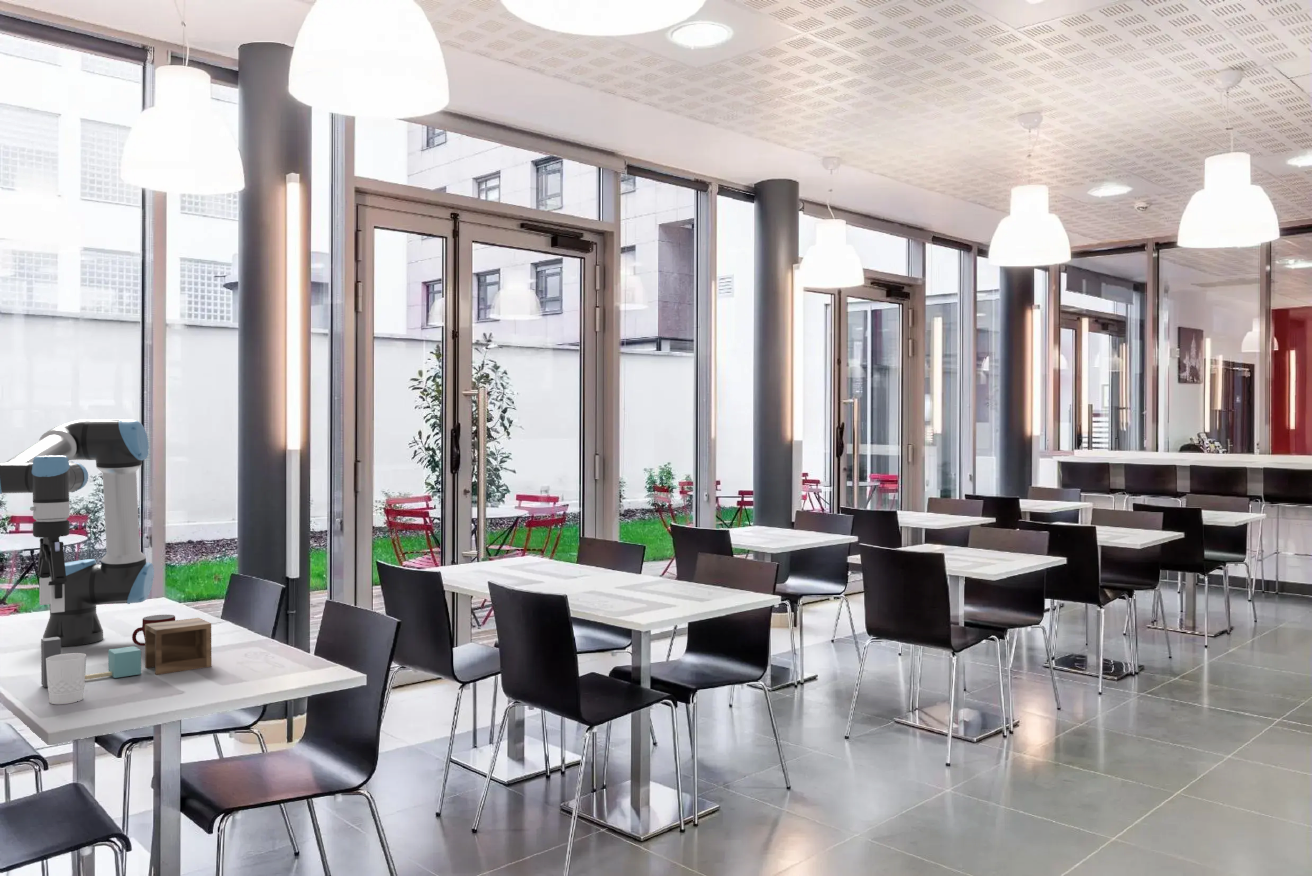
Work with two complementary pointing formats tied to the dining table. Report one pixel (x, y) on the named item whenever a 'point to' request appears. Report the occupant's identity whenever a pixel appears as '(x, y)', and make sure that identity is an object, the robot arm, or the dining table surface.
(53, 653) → the double-ended block stick
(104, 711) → the dining table surface
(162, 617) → the mug
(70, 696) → the white cup
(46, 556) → the robot arm
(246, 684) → the dining table surface
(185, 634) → the shelf
